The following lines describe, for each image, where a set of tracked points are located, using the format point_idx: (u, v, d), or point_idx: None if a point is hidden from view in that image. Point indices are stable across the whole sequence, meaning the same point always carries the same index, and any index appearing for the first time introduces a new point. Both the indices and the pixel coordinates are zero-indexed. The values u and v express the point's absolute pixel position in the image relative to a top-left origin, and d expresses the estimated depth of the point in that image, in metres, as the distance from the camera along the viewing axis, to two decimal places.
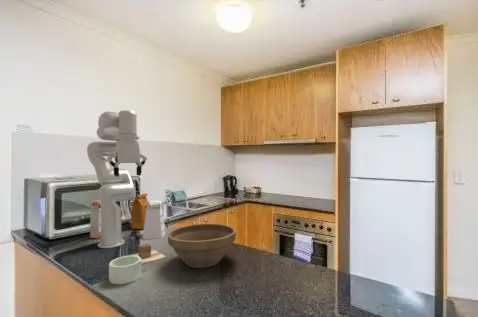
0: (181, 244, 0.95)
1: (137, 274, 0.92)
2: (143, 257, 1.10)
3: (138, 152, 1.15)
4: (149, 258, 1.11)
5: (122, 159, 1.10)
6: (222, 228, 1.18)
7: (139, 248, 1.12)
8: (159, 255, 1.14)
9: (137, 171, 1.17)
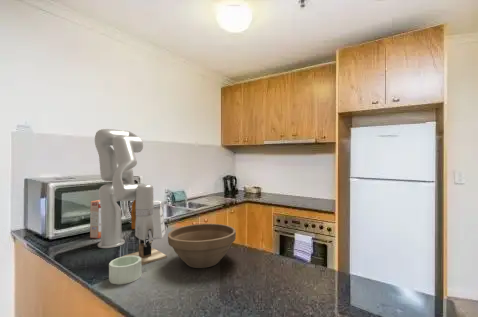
0: (181, 244, 0.95)
1: (137, 274, 0.92)
2: (143, 256, 1.10)
3: None
4: (149, 257, 1.10)
5: None
6: (222, 228, 1.18)
7: (139, 247, 1.12)
8: (159, 254, 1.14)
9: None
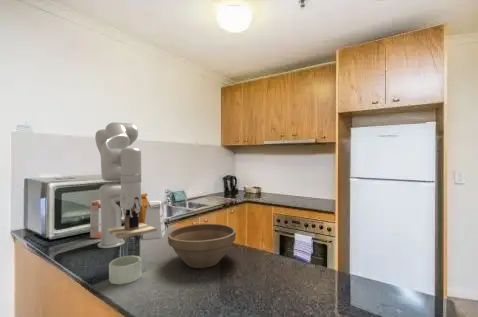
0: (181, 244, 0.95)
1: (137, 274, 0.92)
2: (130, 228, 0.96)
3: None
4: (137, 229, 0.97)
5: None
6: (222, 228, 1.18)
7: (125, 219, 0.98)
8: (148, 227, 1.00)
9: None
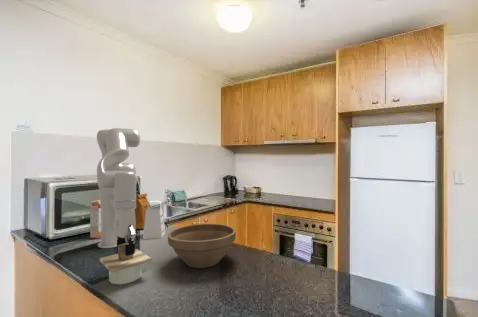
0: (181, 244, 0.95)
1: (137, 274, 0.92)
2: (123, 259, 0.91)
3: None
4: (131, 260, 0.92)
5: None
6: (222, 228, 1.18)
7: (119, 248, 0.93)
8: (143, 256, 0.95)
9: None
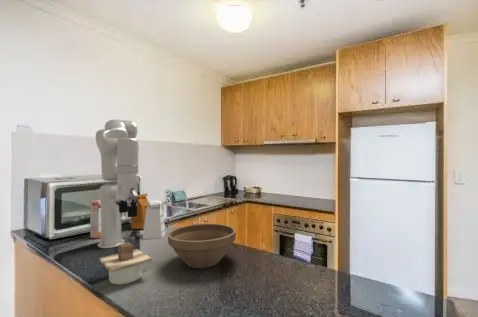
0: (181, 244, 0.95)
1: (137, 274, 0.92)
2: (123, 259, 0.91)
3: None
4: (131, 260, 0.92)
5: None
6: (222, 228, 1.18)
7: (119, 248, 0.93)
8: (143, 256, 0.95)
9: (123, 208, 1.00)
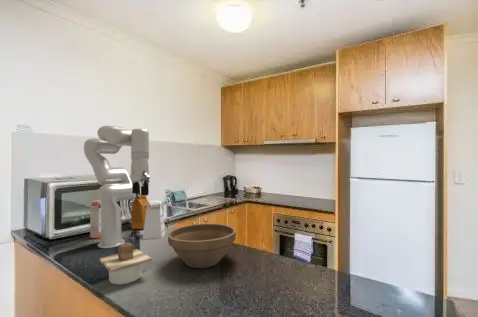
0: (181, 244, 0.95)
1: (137, 274, 0.92)
2: (123, 259, 0.91)
3: None
4: (131, 260, 0.92)
5: None
6: (222, 228, 1.18)
7: (119, 248, 0.93)
8: (143, 256, 0.95)
9: (135, 189, 1.17)
